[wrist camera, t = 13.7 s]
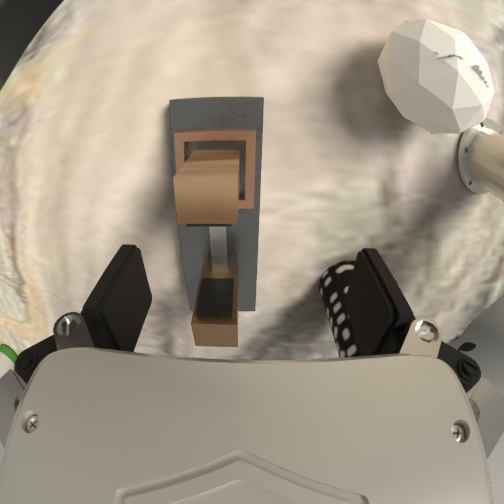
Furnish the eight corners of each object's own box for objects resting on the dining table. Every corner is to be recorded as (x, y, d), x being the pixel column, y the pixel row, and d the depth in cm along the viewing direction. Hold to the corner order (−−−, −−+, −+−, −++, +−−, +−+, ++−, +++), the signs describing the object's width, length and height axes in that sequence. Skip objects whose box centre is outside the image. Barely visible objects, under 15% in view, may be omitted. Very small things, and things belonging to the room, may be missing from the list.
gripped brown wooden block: (194, 150, 29) (172, 178, 20) (239, 149, 29) (237, 177, 20) (196, 190, 31) (178, 232, 23) (239, 190, 31) (237, 232, 23)
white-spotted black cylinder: (308, 291, 43) (336, 407, 26) (340, 252, 39) (392, 367, 22) (346, 306, 45) (381, 409, 28) (377, 272, 41) (430, 374, 25)
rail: (262, 97, 27) (272, 100, 17) (254, 302, 44) (257, 365, 34) (174, 99, 27) (135, 106, 17) (192, 301, 43) (180, 362, 33)
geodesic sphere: (345, 117, 23) (482, 158, 15) (346, -6, 16) (485, 4, 7) (399, 121, 31) (489, 152, 22) (402, 32, 23) (496, 52, 15)
